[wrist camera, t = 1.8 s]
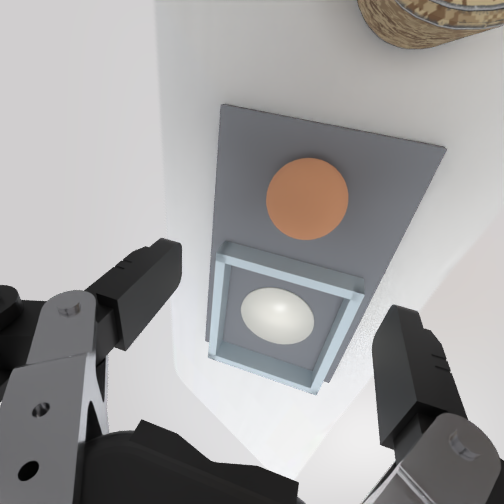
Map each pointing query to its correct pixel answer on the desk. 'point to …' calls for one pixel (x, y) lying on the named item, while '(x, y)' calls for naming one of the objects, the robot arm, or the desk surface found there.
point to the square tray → (280, 314)
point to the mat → (324, 248)
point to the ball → (307, 198)
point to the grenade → (430, 20)
